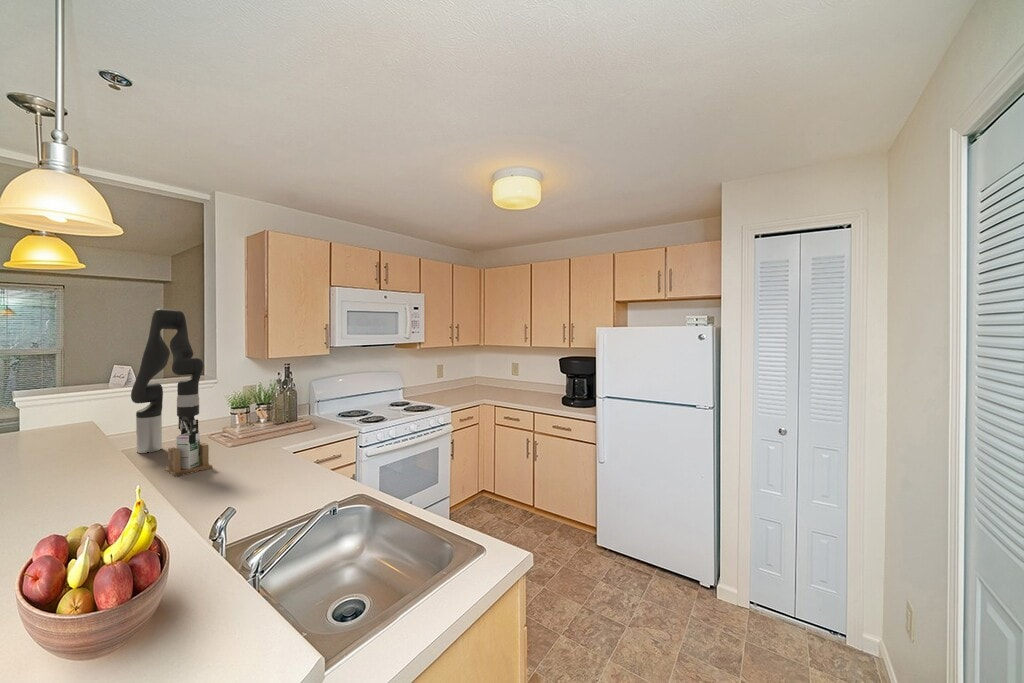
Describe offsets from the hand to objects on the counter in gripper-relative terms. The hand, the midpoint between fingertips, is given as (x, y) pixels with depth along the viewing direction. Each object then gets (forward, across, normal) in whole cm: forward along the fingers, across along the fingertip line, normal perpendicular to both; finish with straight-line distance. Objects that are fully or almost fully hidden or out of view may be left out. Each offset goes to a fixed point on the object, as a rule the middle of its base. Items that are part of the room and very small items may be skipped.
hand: (188, 441), depth 172 cm
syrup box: (+11, 0, 0) cm, 11 cm away
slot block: (+12, 0, 0) cm, 12 cm away
